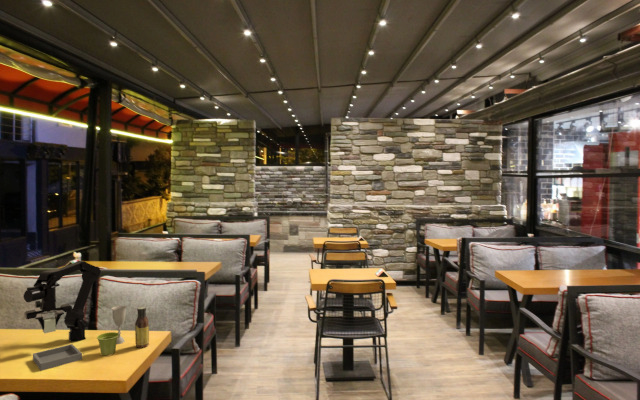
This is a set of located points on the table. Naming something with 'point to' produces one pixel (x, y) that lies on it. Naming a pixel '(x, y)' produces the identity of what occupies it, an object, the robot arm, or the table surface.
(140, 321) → the sauce bottle
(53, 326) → the sage block
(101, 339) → the plant pot
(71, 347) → the tray
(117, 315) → the chalice
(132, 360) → the table surface
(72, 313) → the robot arm
